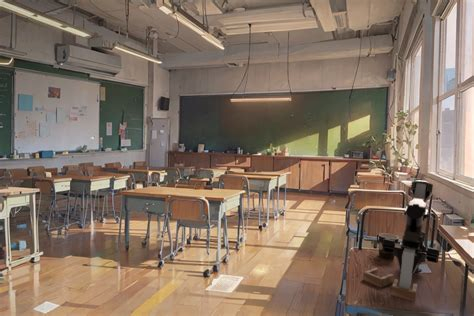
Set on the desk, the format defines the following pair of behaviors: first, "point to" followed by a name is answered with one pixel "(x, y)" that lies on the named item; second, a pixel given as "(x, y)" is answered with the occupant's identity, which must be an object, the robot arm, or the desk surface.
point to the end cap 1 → (377, 278)
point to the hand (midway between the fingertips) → (406, 271)
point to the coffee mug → (381, 237)
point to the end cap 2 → (403, 291)
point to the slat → (407, 268)
